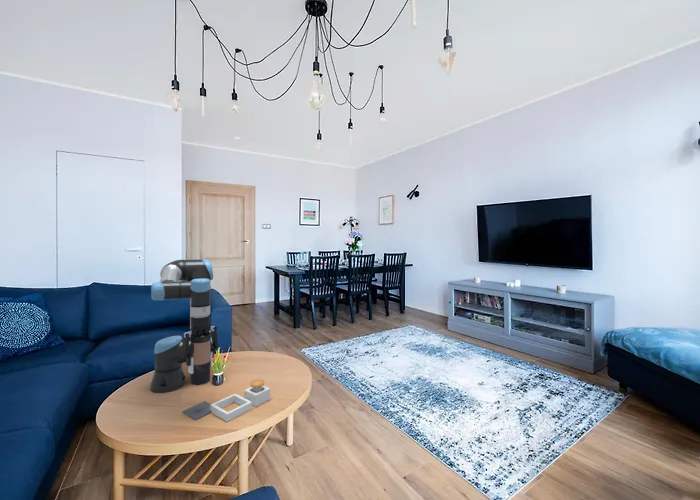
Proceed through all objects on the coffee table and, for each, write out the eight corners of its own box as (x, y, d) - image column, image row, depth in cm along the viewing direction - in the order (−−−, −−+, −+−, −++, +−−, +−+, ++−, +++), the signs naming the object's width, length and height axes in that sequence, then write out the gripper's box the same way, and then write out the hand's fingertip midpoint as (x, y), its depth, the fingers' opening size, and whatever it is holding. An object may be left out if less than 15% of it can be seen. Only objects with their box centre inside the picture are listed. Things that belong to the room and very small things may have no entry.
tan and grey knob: (247, 399, 141) (247, 382, 141) (258, 393, 146) (258, 378, 145) (256, 403, 137) (256, 386, 137) (266, 397, 142) (267, 381, 142)
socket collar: (210, 411, 131) (210, 404, 131) (234, 400, 141) (234, 393, 141) (227, 421, 125) (227, 414, 124) (251, 408, 134) (251, 401, 134)
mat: (182, 412, 131) (182, 410, 131) (205, 402, 139) (205, 400, 139) (195, 420, 125) (195, 419, 125) (218, 409, 133) (218, 408, 133)
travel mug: (214, 378, 134) (214, 332, 134) (202, 386, 127) (202, 338, 126) (198, 376, 136) (198, 331, 135) (186, 384, 128) (186, 336, 128)
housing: (244, 401, 141) (244, 390, 140) (258, 393, 147) (258, 383, 147) (255, 406, 136) (255, 395, 136) (269, 399, 143) (270, 388, 142)
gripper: (180, 322, 120) (180, 380, 121) (227, 312, 137) (227, 363, 138) (170, 319, 124) (170, 375, 125) (217, 310, 141) (217, 359, 142)
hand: (200, 369), depth 131 cm, fingers closed on travel mug, 8 cm apart
